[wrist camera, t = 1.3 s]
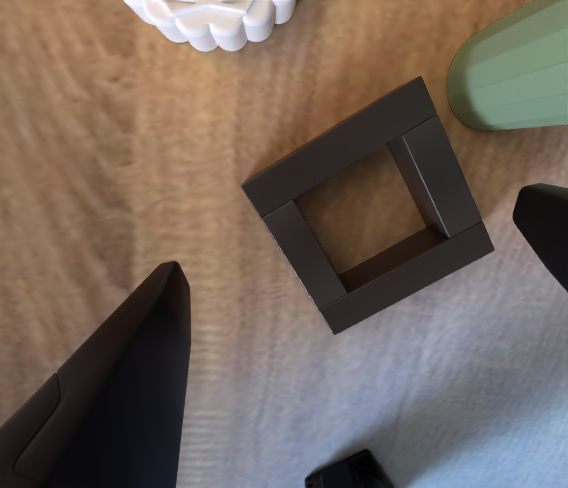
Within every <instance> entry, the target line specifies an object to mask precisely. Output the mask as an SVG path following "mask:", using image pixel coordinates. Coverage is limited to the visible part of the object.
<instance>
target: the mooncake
mask: <svg viewBox="0 0 568 488" xmlns="http://www.w3.org/2000/svg"><path fill="white" fill-rule="evenodd" d="M123 1H124V2H125V3H126V4H127V5H128V6H130V7H131V8H132V9H133V10H134V11H135V12H136V13H137V14H138V15H139V16H140V17H141V18H142V19H143V20H144V21H145V22H147V23H149V24H151V25H155V26H156V27H157V28H158V29H159V30H160V31H161V32H162V33H163V34H164V35H165V36H166V37H167V38H168V39H169V40H171V41H173V42H177V43H182V42H186V41H189V42H190V44H191V45H192V46H193V47H194V48H196V49H197V50H199V51H203V52H208V51H212V50H213V49H215V48H216V47H217V46H218V45H219V46H220V47H221V48H222V49H224V50H227V51H237V50H239V49H241V48H242V47H243V46H244V45H245V44H246V42H247V40H250V41H252V42H260V41H263V40H265V39H266V38H268V37H269V36H270V34H271V32H272V30H273V27H274V24H282V23H284V22H286V21H288V20H289V19H290V18H291V16H292V15H293V13H294V10H295V5H296V0H123Z"/></svg>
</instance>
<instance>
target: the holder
mask: <svg viewBox="0 0 568 488" xmlns="http://www.w3.org/2000/svg"><path fill="white" fill-rule="evenodd" d="M436 113H437V112H436V110H435V107H434V105H433V102H432V100H431V98H430V95H429V93H428V91H427V88H426V86H425V84H424V81H423V79H422V77H421V76H419V77H417V78H415V79H413V80H411V81H409V82H407V83H405V84H403V85H401V86H399V87H397V88H396V89H394V90H392V91H391V92H389V93H388V94H386V95H384V96H383V97H381V98H379V99H378V100H376V101H375V102H373V103H371V104H370V105H368V106H366V107H365V108H363V109H361V110H360V111H358V112H357V113H355V114H353V115H352V116H350V117H348V118H347V119H345V120H344V121H342V122H340V123H339V124H337V125H335V126H334V127H332V128H330V129H329V130H327V131H326V132H324V133H322V134H321V135H319V136H317V137H316V138H314V139H313V140H311V141H309V142H308V143H306V144H304V145H303V146H301V147H299V148H298V149H296V150H295V151H293V152H291V153H290V154H288V155H286V156H285V157H283V158H282V159H280V160H278V161H277V162H275V163H273V164H272V165H270V166H268V167H267V168H265V169H264V170H262V171H260V172H259V173H257V174H255V175H254V176H252V177H251V178H249V179H247V180H246V181H245V182H244V183H243V184H242V185H241V188H242V189H243V191H244V193H245V194H246V196H247V197H248V199H249V201H250V202H251V204H252V205H253V207H254V208H255V210H256V212H257V213H258V215H259V216H260V218H261V220H262V221H263V223H264V224H265V226H266V228H267V229H268V231H269V232H270V234H271V236H272V237H273V239H274V240H275V242H276V244H277V245H278V247H279V248H280V250H281V252H282V253H283V255H284V256H285V258H286V260H287V261H288V263H289V264H290V266H291V268H292V269H293V271H294V272H295V274H296V276H297V277H298V279H299V280H300V282H301V284H302V285H303V287H304V288H305V290H306V292H307V293H308V295H309V296H310V298H311V300H312V301H313V303H314V304H315V306H316V308H317V309H318V311H319V312H320V314H321V316H322V317H323V319H324V320H325V322H326V324H327V325H328V327H329V328H330V330H331V332H332V333H333V335H336V334H338V333H340V332H342V331H344V330H346V329H347V328H349V327H351V326H353V325H355V324H357V323H359V322H361V321H362V320H364V319H366V318H368V317H370V316H372V315H374V314H376V313H378V312H379V311H381V310H383V309H385V308H387V307H389V306H391V305H393V304H395V303H396V302H398V301H400V300H402V299H404V298H406V297H408V296H410V295H412V294H413V293H415V292H417V291H419V290H421V289H423V288H425V287H427V286H428V285H430V284H432V283H434V282H436V281H438V280H440V279H442V278H444V277H445V276H447V275H449V274H451V273H453V272H455V271H457V270H459V269H461V268H462V267H464V266H466V265H468V264H470V263H472V262H474V261H476V260H478V259H479V258H481V257H483V256H485V255H487V254H489V253H491V252H493V251H494V250H495V249H494V247H493V245H492V242H491V240H490V238H489V235H488V233H487V230H486V228H485V226H484V223H483V221H482V219H481V216H480V214H479V212H478V209H477V207H476V204H475V202H474V200H473V197H472V195H471V193H470V190H469V188H468V186H467V183H466V181H465V178H464V176H463V174H462V171H461V169H460V167H459V164H458V162H457V160H456V157H455V155H454V152H453V150H452V148H451V145H450V143H449V141H448V138H447V136H446V134H445V131H444V129H443V126H442V124H441V122H440V119H439V117H438V115H437V114H436ZM385 144H387V145H388V147H389V149H390V151H391V153H392V156H393V158H394V160H395V162H396V164H397V166H398V168H399V170H400V172H401V174H402V177H403V179H404V181H405V183H406V185H407V187H408V189H409V191H410V193H411V195H412V197H413V200H414V202H415V204H416V206H417V208H418V210H419V212H420V214H421V216H422V218H423V221H424V223H425V225H426V226H427V227H426V228H425V229H423V230H421V231H419V232H417V233H416V234H414V235H412V236H410V237H408V238H406V239H405V240H403V241H401V242H399V243H397V244H396V245H394V246H392V247H390V248H388V249H387V250H385V251H383V252H381V253H379V254H378V255H376V256H374V257H372V258H370V259H368V260H367V261H365V262H363V263H361V264H359V265H358V266H356V267H354V268H352V269H350V270H349V271H347V272H345V273H343V274H341V275H340V276H339V275H338V274H337V272H336V270H335V268H334V267H333V265H332V263H331V262H330V260H329V258H328V256H327V255H326V253H325V251H324V250H323V248H322V246H321V244H320V243H319V241H318V239H317V238H316V236H315V234H314V232H313V231H312V229H311V227H310V226H309V224H308V222H307V221H306V219H305V217H304V215H303V214H302V212H301V210H300V209H299V207H298V205H297V203H296V202H295V200H294V198H296V197H297V196H299V195H301V194H302V193H304V192H306V191H307V190H309V189H311V188H312V187H314V186H316V185H318V184H319V183H321V182H323V181H324V180H326V179H328V178H329V177H331V176H333V175H334V174H336V173H338V172H339V171H341V170H343V169H344V168H346V167H348V166H350V165H351V164H353V163H355V162H356V161H358V160H360V159H361V158H363V157H365V156H366V155H368V154H370V153H371V152H373V151H375V150H376V149H378V148H380V147H382V146H383V145H385Z"/></svg>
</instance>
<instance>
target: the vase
mask: <svg viewBox="0 0 568 488" xmlns="http://www.w3.org/2000/svg"><path fill="white" fill-rule="evenodd" d="M447 97H448V101H449V104H450V107H451V109H452V111H453V113H454V114H455V115H456V117H457V118H458V119H459V120H460V121H461V122H462V123H464V124H465V125H467V126H469V127H471V128H473V129H477V130H483V131H496V130H508V129H519V128H531V127H543V126H555V125H567V124H568V0H533V1H531V2H529V3H527V4H526V5H524V6H522V7H520V8H519V9H517V10H515V11H513V12H512V13H510V14H508V15H506V16H505V17H503V18H501V19H499V20H498V21H496V22H494V23H492V24H491V25H489V26H488V27H486V28H484V29H483V30H481V31H479V32H477V33H476V34H474V35H473V36H472V37H470V38H469V39H468V40H467V41H466V42H465V43H464V44H463V45H462V46H461V48H460V49H459V51H458V52H457V53H456V55H455V57H454V59H453V61H452V63H451V66H450V69H449V72H448V77H447Z"/></svg>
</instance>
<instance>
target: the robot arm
mask: <svg viewBox="0 0 568 488" xmlns="http://www.w3.org/2000/svg"><path fill="white" fill-rule="evenodd" d="M513 221H514V223H515V225H516V226H517V227H518V229H519V230H520V232H521V233H522V234H523V236H524V237H525V239H526V240H527V241H528V243H529V244H530V246H531V247H532V249H533V250H534V251H535V253H536V254H537V256H538V257H539V258H540V260H541V261H542V263H543V264H544V265H545V267H546V268H547V269H548V270H549V271H550V273H551V274H552V275H553V276H554V277H555V278H556V280H557V281H558V282H559V283H560V284H561V285H562V286H563V288H564V289H565V290H566V291H567V292H568V188H563V187H558V186H553V185H548V184H543V183H538V184H533V185H529V186H525V187H523V188H522V189H521V190H520V192H519V194H518V198H517V201H516V204H515V208H514V211H513ZM190 349H191V303H190V287H189V283H188V281H187V279H186V277H185V275H184V273H183V271H182V269H181V267H180V265H179V263H178V262H176V261H171V262H166V263H162V264H160V265H159V266H158V267H157V268H156V269H155V270H154V271H153V272H152V273H151V274H150V275H149V276H148V277H147V278H146V279H145V280H144V281H143V282H142V283H141V284H140V285H139V286H138V287H137V288H136V290H135V291H134V292H133V293H132V294H131V295H130V296H129V297H128V298H127V299H126V300H125V301H124V302H123V303H122V304H121V305H120V306H119V307H118V308H117V309H116V310H115V311H114V312H113V313H112V314H111V315H110V316H109V317H108V319H107V320H106V321H105V322H104V323H103V324H102V325H101V326H100V327H99V328H98V329H97V330H96V331H95V332H94V333H93V334H92V335H91V336H90V337H89V338H88V339H87V340H86V341H85V342H84V343H83V344H82V345H81V346H80V347H79V348H78V350H77V351H76V352H75V353H74V354H73V355H72V356H71V357H70V358H69V359H68V360H67V361H66V362H65V363H64V364H63V365H62V366H61V367H60V368H59V369H58V371H57V373H54V374H53V375H52V376H51V377H50V378H49V379H48V380H47V381H46V383H45V384H44V385H43V386H42V387H41V388H40V389H39V390H38V391H37V392H36V393H35V394H34V395H33V396H32V397H31V398H30V399H29V400H28V401H27V402H26V403H25V404H24V405H23V406H22V407H21V408H20V409H19V410H18V411H17V412H16V413H15V414H14V415H13V416H12V417H10V418H9V419H8V420H7V421H6V422H5V423H4V424H3V425H2V426H1V427H0V488H176V481H177V471H178V462H179V453H180V443H181V434H182V425H183V415H184V406H185V396H186V387H187V378H188V368H189V359H190ZM365 456H366V457H365ZM305 487H306V488H395V487H394V486H393V484H392V483H391V481H390V480H389V478H388V477H387V475H386V474H385V472H384V471H383V469H382V468H381V466H380V465H379V463H378V462H377V460H376V459H375V457H374V456H373V454H372V453H371V452H370V451H369V450H363V451H361V452H359V453H357V454H355V455H352V456H350V457H348V458H346V459H344V460H342V461H340V462H338V463H336V464H334V465H332V466H330V467H327V468H325V469H323V470H321V471H319V472H317V473H315V474H313V475H311V476H309V477H307V478H306V479H305Z"/></svg>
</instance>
